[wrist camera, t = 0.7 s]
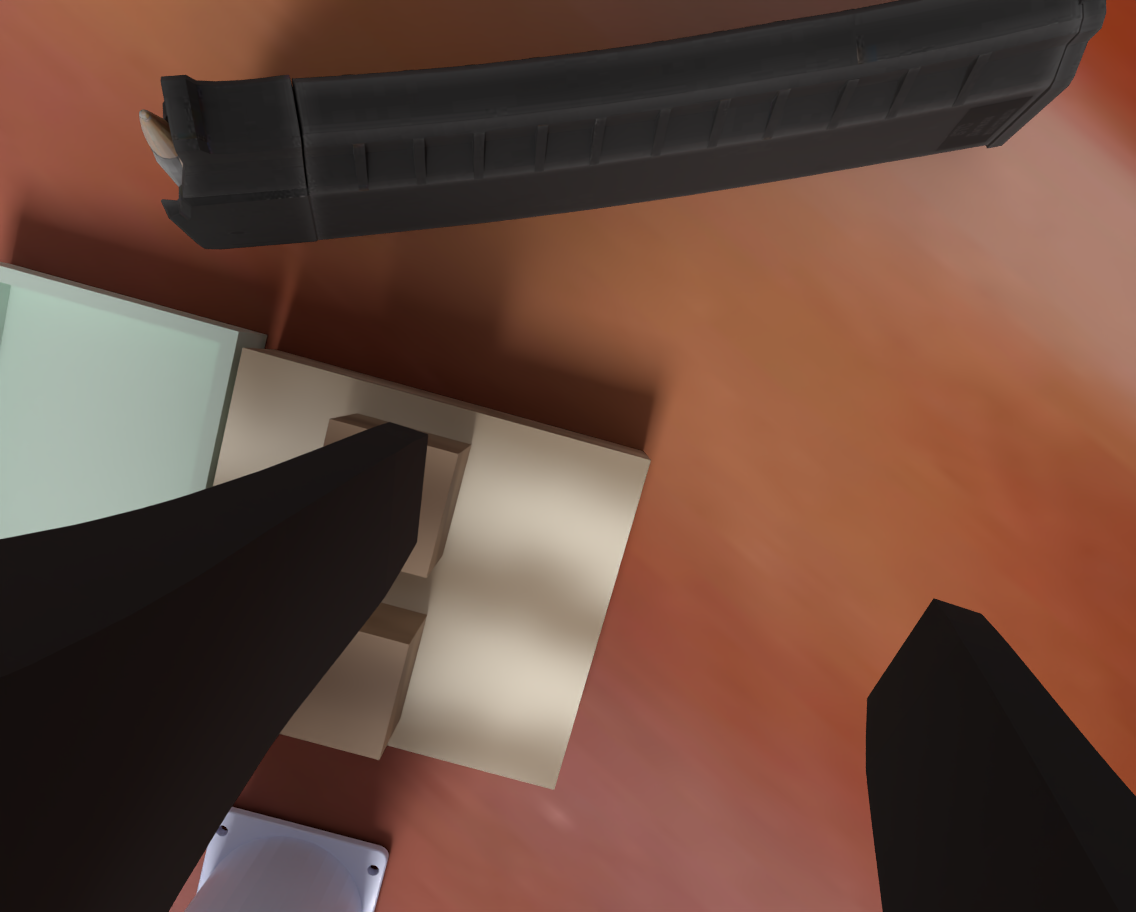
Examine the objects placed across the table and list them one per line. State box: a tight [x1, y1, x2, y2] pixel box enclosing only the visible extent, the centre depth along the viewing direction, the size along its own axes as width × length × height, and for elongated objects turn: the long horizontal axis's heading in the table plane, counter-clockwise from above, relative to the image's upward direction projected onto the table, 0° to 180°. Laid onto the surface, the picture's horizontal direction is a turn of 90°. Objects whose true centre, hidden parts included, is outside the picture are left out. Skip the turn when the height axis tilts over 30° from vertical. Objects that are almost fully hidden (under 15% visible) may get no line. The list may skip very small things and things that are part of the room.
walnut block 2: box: [280, 603, 427, 760], centre depth 26 cm, size 4×4×3 cm
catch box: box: [0, 262, 267, 539], centre depth 29 cm, size 15×11×2 cm
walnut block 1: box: [323, 413, 471, 578], centre depth 25 cm, size 4×4×3 cm
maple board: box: [213, 348, 651, 790], centre depth 29 cm, size 14×16×3 cm
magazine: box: [139, 0, 1106, 249], centre depth 23 cm, size 17×3×30 cm
